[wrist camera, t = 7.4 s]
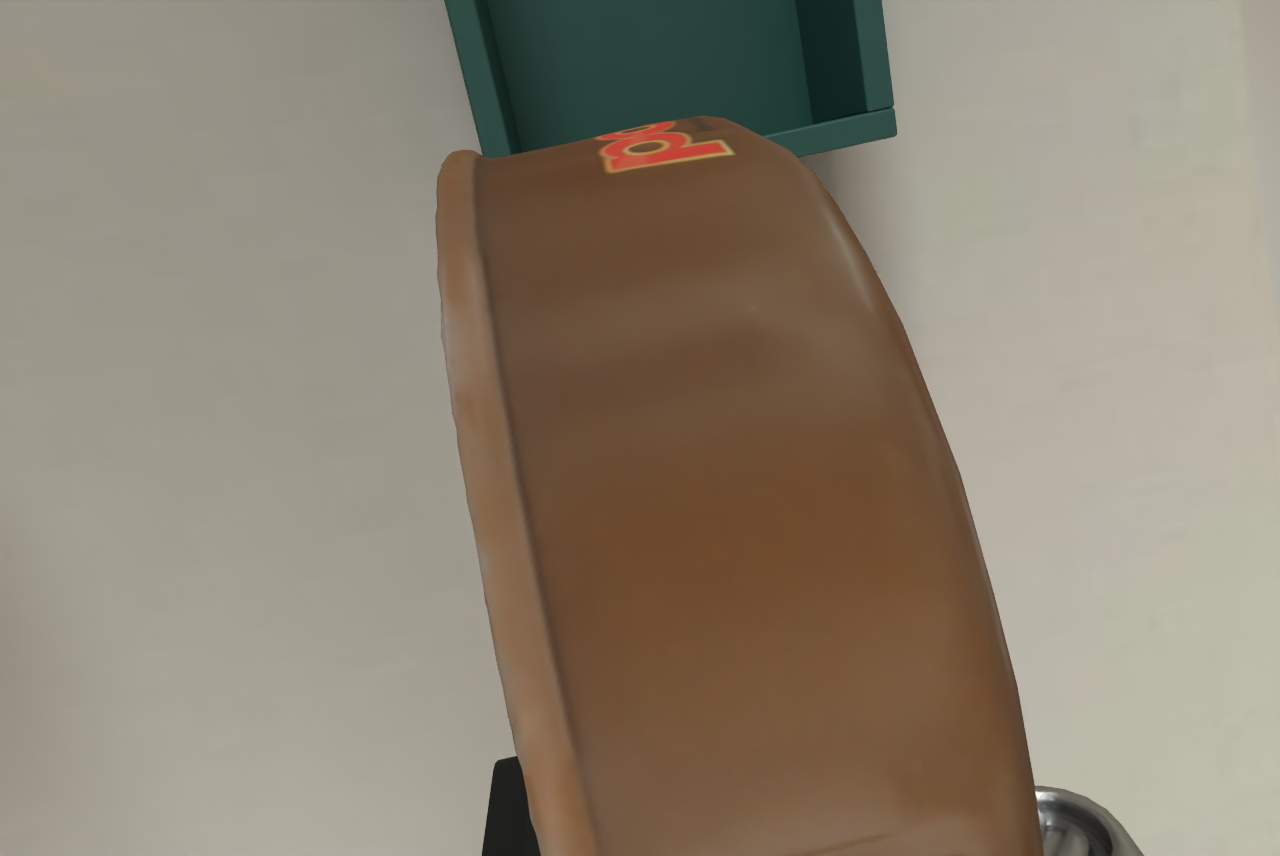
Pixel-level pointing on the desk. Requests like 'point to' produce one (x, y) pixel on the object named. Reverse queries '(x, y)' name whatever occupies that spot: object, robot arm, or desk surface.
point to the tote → (674, 69)
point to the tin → (717, 513)
